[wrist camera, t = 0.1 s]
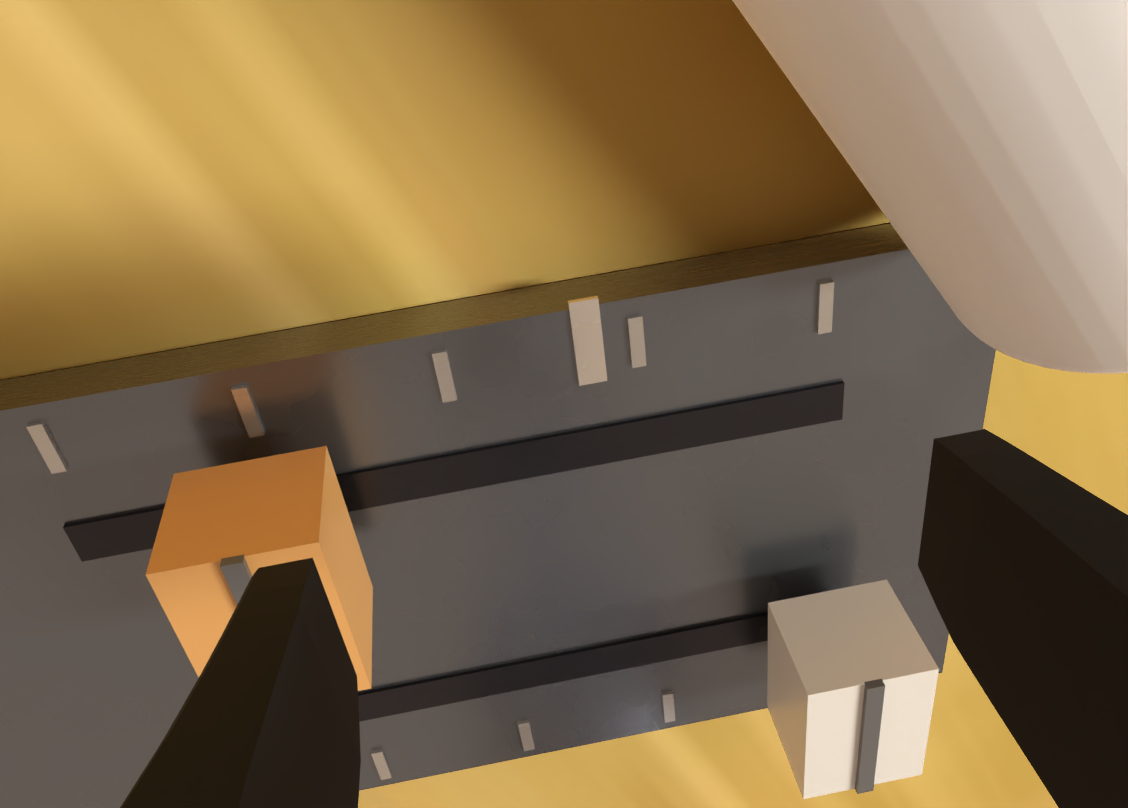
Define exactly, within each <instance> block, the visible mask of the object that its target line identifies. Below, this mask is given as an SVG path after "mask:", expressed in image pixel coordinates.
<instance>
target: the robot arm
mask: <svg viewBox="0 0 1128 808" xmlns="http://www.w3.org/2000/svg"><path fill="white" fill-rule="evenodd" d="M918 567H919V569H920V572H921V574H922V576H923V578H924V580H925V583H926V585H927V587H928V589H929V592H930V594H931V596H932V598H933V600H934V603H935V605H936V607H937V609H938V611H939V613H940V615H941V617H942V619H943V622H944V624H945V626H946V628H947V630H948V632H949V634H950V636H951V638H952V640H953V642H954V644H955V645H956V647H957V648H958V650H959V652H960V653H961V655H962V657H963V658H964V660H965V661H966V663H967V665H968V666H969V668H970V669H971V671H972V673H973V674H974V676H975V677H976V679H977V681H978V682H979V684H980V685H981V687H982V688H983V690H984V692H985V693H986V695H987V696H988V698H989V700H990V701H991V703H992V704H993V706H994V707H995V709H996V710H997V712H998V714H999V715H1000V717H1001V718H1002V720H1003V721H1004V723H1005V725H1006V726H1007V728H1008V729H1009V731H1010V732H1011V734H1012V735H1013V737H1014V739H1015V740H1016V742H1017V743H1018V745H1019V746H1020V748H1021V749H1022V751H1023V753H1024V754H1025V756H1026V757H1027V759H1028V760H1029V762H1030V763H1031V765H1032V767H1033V768H1034V770H1035V771H1036V773H1037V774H1038V776H1039V777H1040V779H1041V781H1042V782H1043V784H1044V785H1045V787H1046V788H1047V790H1048V792H1049V793H1050V795H1051V796H1052V798H1053V799H1054V801H1055V802H1056V804H1057V806H1058V807H1059V808H1128V515H1127V514H1125V513H1123V512H1121V511H1120V510H1118V509H1117V508H1115V507H1113V506H1112V505H1110V504H1108V503H1107V502H1105V501H1103V500H1102V499H1100V498H1098V497H1097V496H1095V495H1093V494H1092V493H1090V492H1088V491H1087V490H1085V489H1083V488H1082V487H1080V486H1079V485H1077V484H1075V483H1074V482H1072V481H1070V480H1069V479H1067V478H1065V477H1064V476H1062V475H1061V474H1059V473H1057V472H1056V471H1054V470H1052V469H1051V468H1049V467H1048V466H1046V465H1044V464H1043V463H1041V462H1039V461H1038V460H1036V459H1035V458H1033V457H1031V456H1030V455H1028V454H1026V453H1025V452H1023V451H1021V450H1020V449H1018V448H1016V447H1015V446H1013V445H1011V444H1010V443H1008V442H1006V441H1005V440H1003V439H1001V438H1000V437H998V436H996V435H994V434H992V433H991V432H989V431H987V430H985V429H982V430H977V431H972V432H967V433H962V434H956V435H951V436H946V437H941V438H935V439H934V441H933V449H932V457H931V465H930V473H929V480H928V488H927V496H926V504H925V512H924V520H923V528H922V536H921V544H920V552H919V560H918ZM360 766H361V753H360V724H359V704H358V684H357V675H356V672H355V669H354V667H353V664H352V661H351V659H350V656H349V653H348V651H347V648H346V645H345V643H344V640H343V637H342V635H341V632H340V629H339V627H338V624H337V621H336V619H335V616H334V613H333V611H332V608H331V605H330V603H329V600H328V597H327V595H326V592H325V589H324V587H323V584H322V581H321V578H320V576H319V573H318V570H317V568H316V565H315V562H314V560H313V558H308V559H302V560H297V561H292V562H287V563H282V564H276V565H271V566H266V567H261V568H258V569H257V571H256V572H255V573H254V574H253V576H252V577H251V579H250V581H249V583H248V585H247V587H246V589H245V591H244V593H243V595H242V597H241V599H240V601H239V603H238V605H237V607H236V608H235V610H234V612H233V614H232V616H231V618H230V620H229V622H228V624H227V626H226V628H225V630H224V632H223V634H222V636H221V637H220V639H219V641H218V643H217V645H216V647H215V649H214V651H213V652H212V654H211V656H210V658H209V660H208V662H207V664H206V665H205V667H204V669H203V671H202V673H201V675H200V676H199V678H198V680H197V682H196V683H195V685H194V687H193V689H192V690H191V692H190V694H189V696H188V697H187V699H186V701H185V703H184V704H183V706H182V708H181V710H180V711H179V713H178V715H177V717H176V718H175V720H174V722H173V723H172V725H171V727H170V729H169V730H168V732H167V734H166V736H165V737H164V739H163V741H162V742H161V744H160V745H159V747H158V749H157V750H156V752H155V754H154V755H153V757H152V758H151V760H150V761H149V763H148V765H147V766H146V768H145V769H144V771H143V772H142V774H141V775H140V777H139V779H138V780H137V782H136V783H135V785H134V786H133V788H132V790H131V791H130V793H129V794H128V796H127V797H126V799H125V801H124V802H123V804H122V805H121V807H120V808H358V796H359V782H360Z"/></svg>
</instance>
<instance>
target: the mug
mask: <svg viewBox="0 0 1128 808" xmlns="http://www.w3.org/2000/svg"><path fill="white" fill-rule="evenodd" d="M732 1H733V2H734V4H735V5H736V6H737V8H738V9H739V11H740V12H741V14H742V15H743V16H744V18H745V19H746V21H747V22H748V23H749V25H750V26H751V28H752V29H753V30H754V32H755V33H756V35H757V36H758V37H759V39H760V40H761V42H762V43H763V44H764V46H765V47H766V49H767V50H768V52H769V53H770V54H771V56H772V57H773V59H774V60H775V61H776V63H777V64H778V66H779V67H780V68H781V70H782V71H783V73H784V74H785V75H786V77H787V78H788V80H789V81H790V83H791V84H792V85H793V87H794V88H795V90H796V91H797V92H798V94H799V95H800V97H801V98H802V99H803V101H804V102H805V104H806V105H807V106H808V108H809V109H810V111H811V112H812V113H813V115H814V116H815V118H816V119H817V121H818V122H819V123H820V125H821V126H822V128H823V129H824V130H825V132H826V133H827V135H828V136H829V137H830V139H831V140H832V142H833V143H834V144H835V146H836V147H837V149H838V150H839V152H840V153H841V154H842V156H843V157H844V159H845V160H846V161H847V163H848V164H849V166H850V167H851V168H852V170H853V171H854V173H855V174H856V175H857V177H858V178H859V180H860V181H861V182H862V184H863V185H864V187H865V188H866V190H867V191H868V192H869V194H870V195H871V197H872V198H873V199H874V201H875V202H876V204H877V205H878V206H879V208H880V209H881V211H882V212H883V213H884V215H885V216H886V218H887V219H888V220H889V222H890V223H891V225H892V226H893V228H894V229H895V230H896V232H897V233H898V235H899V236H900V237H901V239H902V240H903V242H904V243H905V244H906V246H907V247H908V249H909V250H910V251H911V253H912V254H913V256H914V257H915V259H916V260H917V261H918V263H919V264H920V266H921V267H922V268H923V270H924V271H925V273H926V274H927V275H928V277H929V278H930V280H931V281H932V282H933V284H934V285H935V287H936V288H937V289H938V291H939V292H940V294H941V295H942V297H943V298H944V299H945V301H946V302H947V304H948V305H949V306H950V308H951V309H952V311H953V312H954V313H955V315H956V316H957V318H958V319H959V320H960V321H961V322H962V324H963V325H964V326H965V327H966V328H967V329H968V330H969V331H970V332H972V333H973V334H974V335H975V336H976V337H977V338H979V339H980V340H981V341H983V342H985V343H986V344H988V345H989V346H991V347H992V348H994V349H996V350H998V351H1000V352H1002V353H1004V354H1006V355H1008V356H1010V357H1013V358H1016V359H1018V360H1021V361H1024V362H1026V363H1030V364H1034V365H1038V366H1041V367H1045V368H1051V369H1057V370H1062V371H1070V372H1081V373H1128V0H732Z"/></svg>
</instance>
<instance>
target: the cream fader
mask: <svg viewBox="0 0 1128 808" xmlns="http://www.w3.org/2000/svg"><path fill="white" fill-rule="evenodd" d="M938 672H939V668H938V666H937V665H936V663H935V661H934V660H933V658H932V656H931V654H930V653H929V651H928V649H927V648H926V646H925V644H924V642H923V641H922V639H921V637H920V636H919V634H918V632H917V630H916V629H915V627H914V625H913V624H912V622H911V620H910V618H909V617H908V615H907V613H906V612H905V610H904V608H903V606H902V605H901V603H900V601H899V599H898V598H897V596H896V594H895V593H894V591H893V589H892V587H891V586H890V584H889V582H888V581H887V579H886V580H881V581H876V582H871V583H866V584H861V585H856V586H851V587H846V588H841V589H836V590H830V591H825V592H820V593H815V594H810V595H805V596H800V597H795V598H790V599H785V600H780V601H774V602H769V603H768V672H767V706H768V709H769V711H770V714H771V717H772V719H773V722H774V724H775V727H776V730H777V732H778V735H779V737H780V740H781V742H782V745H783V748H784V750H785V753H786V755H787V758H788V761H789V763H790V766H791V768H792V771H793V773H794V776H795V779H796V781H797V784H798V786H799V789H800V792H801V794H802V797H803V799H807V798H811V797H816V796H821V795H826V794H831V793H835V792H840V791H845V790H850V789H855V790H856V792H857V794H859V793H864V792H869V791H873V788H874V784H879V783H884V782H888V781H893V780H898V779H903V778H908V777H912V776H917V775H922V770H923V764H924V758H925V752H926V746H927V740H928V733H929V727H930V721H931V715H932V709H933V703H934V696H935V690H936V684H937V678H938Z"/></svg>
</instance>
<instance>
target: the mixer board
mask: <svg viewBox="0 0 1128 808" xmlns="http://www.w3.org/2000/svg"><path fill="white" fill-rule="evenodd" d="M995 351H996V349H994V348H992V347H991V346H989V345H988V344H986V343H985V342H983V341H981V340H980V339H979V338H977V337H976V336H975V335H974V334H973V333H972V332H970V331H969V330H968V329H967V328H966V327H965V326H964V325H963V324H962V322H961V321H960V320H959V319H958V318H957V316H956V315H955V313H954V312H953V311H952V309H951V308H950V306H949V305H948V304H947V302H946V301H945V299H944V298H943V297H942V295H941V294H940V292H939V291H938V289H937V288H936V287H935V285H934V284H933V282H932V281H931V280H930V278H929V277H928V275H927V274H926V273H925V271H924V270H923V268H922V267H921V266H920V264H919V263H918V261H917V260H916V259H915V257H914V256H913V254H912V253H911V251H910V250H909V249H908V247H907V246H906V244H905V243H904V242H903V240H902V239H901V237H900V236H899V235H898V233H897V232H896V230H895V229H894V228H893V226H892V225H891V223H889V224H884V225H878V226H872V227H867V228H861V229H855V230H850V231H844V232H838V233H833V234H827V235H821V236H816V237H810V238H804V239H799V240H793V241H787V242H782V243H776V244H770V245H765V246H759V247H753V248H748V249H742V250H736V251H731V252H725V253H719V254H714V255H708V256H702V257H697V258H691V259H685V260H680V261H674V262H669V263H663V264H657V265H652V266H646V267H640V268H635V269H629V270H623V271H618V272H612V273H606V274H601V275H595V276H589V277H584V278H578V279H572V280H567V281H561V282H555V283H550V284H544V285H538V286H533V287H527V288H521V289H516V290H510V291H504V292H499V293H493V294H487V295H482V296H476V297H470V298H465V299H459V300H453V301H448V302H442V303H436V304H431V305H425V306H419V307H414V308H408V309H402V310H397V311H391V312H385V313H380V314H374V315H368V316H363V317H357V318H351V319H346V320H340V321H334V322H329V323H323V324H317V325H312V326H306V327H300V328H295V329H289V330H283V331H278V332H272V333H266V334H261V335H255V336H249V337H244V338H238V339H232V340H227V341H221V342H215V343H210V344H204V345H199V346H193V347H187V348H182V349H176V350H170V351H165V352H159V353H153V354H148V355H142V356H136V357H131V358H125V359H119V360H114V361H108V362H102V363H97V364H91V365H85V366H80V367H74V368H68V369H63V370H57V371H51V372H46V373H40V374H34V375H29V376H23V377H17V378H12V379H6V380H0V808H120V807H121V805H122V804H123V802H124V801H125V799H126V797H127V796H128V794H129V793H130V791H131V790H132V788H133V786H134V785H135V783H136V782H137V780H138V779H139V777H140V775H141V774H142V772H143V771H144V769H145V768H146V766H147V765H148V763H149V761H150V760H151V758H152V757H153V755H154V754H155V752H156V750H157V749H158V747H159V745H160V744H161V742H162V741H163V739H164V737H165V736H166V734H167V732H168V730H169V729H170V727H171V725H172V723H173V722H174V720H175V718H176V717H177V715H178V713H179V711H180V710H181V708H182V706H183V704H184V703H185V701H186V699H187V697H188V696H189V694H190V692H191V690H192V689H193V687H194V685H195V683H196V682H197V680H198V678H199V677H198V675H197V674H196V672H195V670H194V668H193V666H192V664H191V662H190V660H189V658H188V656H187V654H186V652H185V650H184V648H183V646H182V644H181V643H180V641H179V639H178V637H177V635H176V633H175V631H174V629H173V627H172V625H171V623H170V621H169V619H168V617H167V615H166V613H165V612H164V610H163V608H162V606H161V604H160V602H159V600H158V598H157V596H156V594H155V592H154V590H153V588H152V586H151V584H150V582H149V581H148V579H147V577H146V571H147V568H148V564H149V561H150V557H151V554H152V550H153V546H154V543H155V539H156V536H157V532H158V529H159V525H160V521H161V518H162V514H163V511H164V507H165V504H166V500H167V496H168V493H169V489H170V486H171V482H172V478H173V475H174V474H175V473H181V472H186V471H192V470H197V469H203V468H208V467H214V466H219V465H225V464H230V463H235V462H241V461H246V460H252V459H257V458H263V457H268V456H274V455H279V454H285V453H290V452H295V451H301V450H306V449H312V448H317V447H323V446H327V449H328V452H329V455H330V458H331V461H332V464H333V467H334V471H335V474H336V477H337V480H338V483H339V486H340V489H341V492H342V495H343V498H344V501H345V504H346V507H347V510H348V513H349V516H350V519H351V522H352V525H353V528H354V531H355V534H356V537H357V540H358V544H359V547H360V550H361V553H362V556H363V559H364V562H365V565H366V568H367V571H368V574H369V577H370V580H371V583H372V586H373V611H372V682H371V689H366V690H361V691H358V704H359V724H360V753H361V766H360V782H359V790H364V789H369V788H374V787H379V786H384V785H389V784H394V783H399V782H404V781H408V780H413V779H418V778H423V777H428V776H433V775H438V774H443V773H448V772H453V771H458V770H463V769H468V768H473V767H478V766H483V765H488V764H493V763H497V762H502V761H507V760H512V759H517V758H522V757H527V756H532V755H537V754H542V753H547V752H552V751H557V750H562V749H567V748H572V747H577V746H582V745H586V744H591V743H596V742H601V741H606V740H611V739H616V738H621V737H626V736H631V735H636V734H641V733H646V732H651V731H656V730H661V729H666V728H670V727H675V726H680V725H685V724H690V723H695V722H700V721H705V720H710V719H715V718H720V717H725V716H730V715H735V714H740V713H745V712H750V711H755V710H759V709H764V708H768V706H767V672H768V603H769V602H774V601H780V600H785V599H790V598H795V597H800V596H805V595H810V594H815V593H820V592H825V591H830V590H836V589H841V588H846V587H851V586H856V585H861V584H866V583H871V582H876V581H881V580H886V579H887V581H888V582H889V584H890V586H891V587H892V589H893V591H894V593H895V594H896V596H897V598H898V599H899V601H900V603H901V605H902V606H903V608H904V610H905V612H906V613H907V615H908V617H909V618H910V620H911V622H912V624H913V625H914V627H915V629H916V630H917V632H918V634H919V636H920V637H921V639H922V641H923V642H924V644H925V646H926V648H927V649H928V651H929V653H930V654H931V656H932V658H933V660H934V661H935V663H936V665H937V666H938V668H939V672H938V673H942V670H943V664H944V658H945V652H946V646H947V640H948V634H949V632H948V630H947V628H946V626H945V624H944V622H943V619H942V617H941V615H940V613H939V611H938V609H937V607H936V605H935V603H934V600H933V598H932V596H931V594H930V592H929V589H928V587H927V585H926V583H925V580H924V578H923V576H922V574H921V572H920V569H919V567H918V560H919V552H920V544H921V536H922V528H923V520H924V512H925V504H926V496H927V488H928V480H929V473H930V465H931V457H932V449H933V441H934V439H935V438H941V437H946V436H951V435H956V434H962V433H967V432H972V431H977V430H982V429H983V423H984V417H985V411H986V405H987V399H988V393H989V387H990V381H991V375H992V369H993V363H994V357H995Z"/></svg>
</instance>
